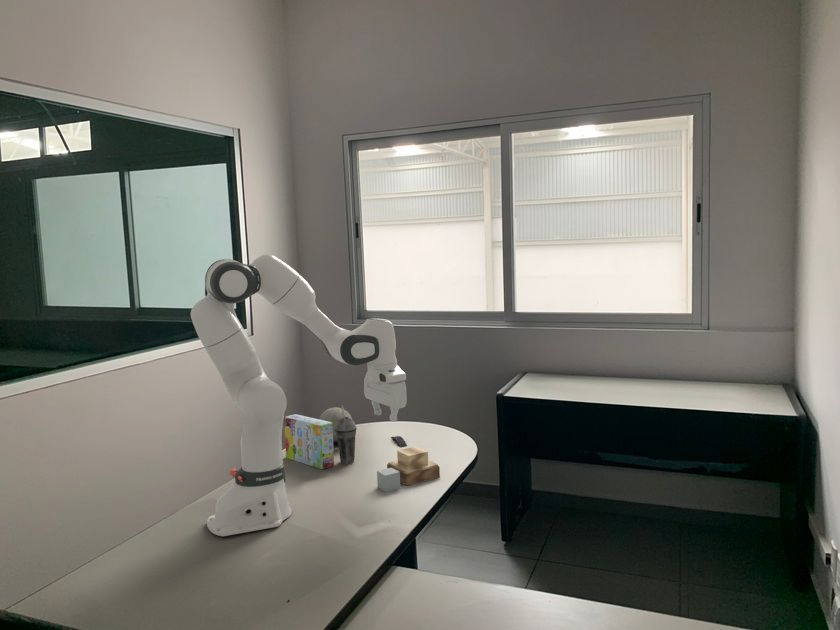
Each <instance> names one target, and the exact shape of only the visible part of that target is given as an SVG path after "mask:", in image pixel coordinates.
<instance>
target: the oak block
mask: <svg viewBox="0 0 840 630" xmlns="http://www.w3.org/2000/svg"><path fill="white" fill-rule="evenodd" d="M396 453H397V454H396V455H397V460H398V463H399V464H401V465H403V466H405V467H407V468H409V469H410V468H414V467H418V466H423V465H427V464H428V460H429V451H427V450H425V449H423V448H420V447H419V446H411V447H407V448H406V447H405V448H402V449H397V451H396Z"/></svg>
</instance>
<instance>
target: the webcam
mask: <svg viewBox="0 0 840 630" xmlns="http://www.w3.org/2000/svg"><path fill="white" fill-rule="evenodd" d="M344 415H345V417H348V418H351V419H352V420H353V421H354V419H353V417H352V415H351V414H350V413H349V411H347V410H346V409H344ZM341 418H343V412H342V407H337V406H336V407H330V408H327V409H326V410H324V411H323V412H322V413H321V415H320V416H319V418H318V419H319V420H324V421H328V422H332V423H333V448H334V453H335V452H339V447H338V440H337V435H336V431H335V429H336V424H337V422H338V421H339V420H340V419H341Z"/></svg>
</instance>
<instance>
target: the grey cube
mask: <svg viewBox="0 0 840 630" xmlns="http://www.w3.org/2000/svg"><path fill="white" fill-rule="evenodd" d="M376 476H377V477H376V479H377V482H376V483H377V488H378V489H380V490H382V491H384V492H385V493H386V492H391V491H394V490H399V489H401V482H400V472H399V471H397V470H395V469H393V468H388V469H387V468H384V469H380V470H377V471H376Z"/></svg>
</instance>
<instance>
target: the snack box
mask: <svg viewBox="0 0 840 630" xmlns="http://www.w3.org/2000/svg"><path fill="white" fill-rule="evenodd" d="M283 423H284V437H285V438H284V440H285V443H284V444H285V458H286V459H289V460H292V461H295V462H297V463H300V464H301V463H302V464H304V465H306V466H307V465H308V466H311V467H313V468H317V469H320V470H325V469H328V468H332V467H334V466H335V457H334V456H335V455H334V453H335V452H334V448H333V423H332V422H328V421H324V420H319V418H314V417H309V416H305V415H301V414H296V413H295V414H291V415H287V416H284V419H283Z"/></svg>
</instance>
